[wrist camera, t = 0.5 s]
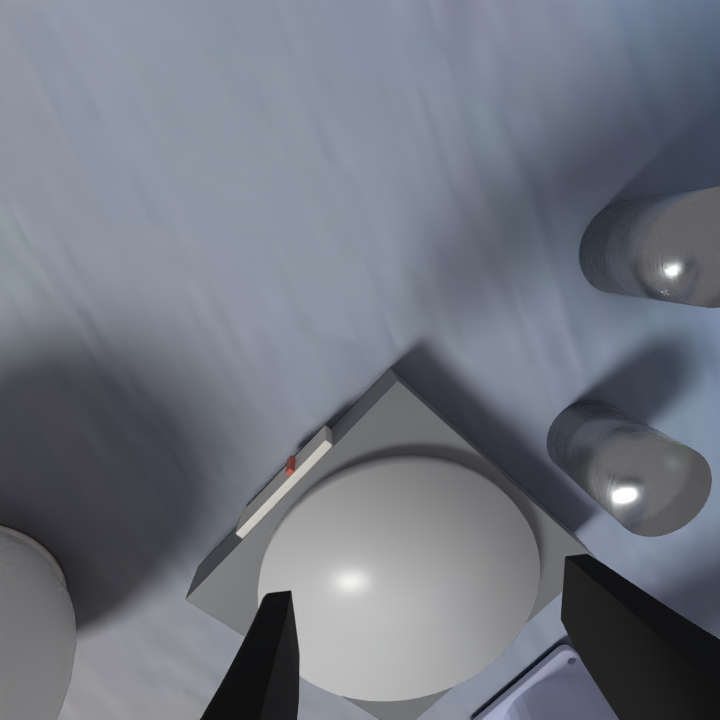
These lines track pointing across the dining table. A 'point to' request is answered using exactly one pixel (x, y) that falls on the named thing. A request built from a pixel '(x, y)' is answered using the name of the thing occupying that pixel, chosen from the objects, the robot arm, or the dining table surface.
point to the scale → (391, 555)
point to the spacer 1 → (657, 248)
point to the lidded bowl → (33, 630)
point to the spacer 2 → (629, 467)
